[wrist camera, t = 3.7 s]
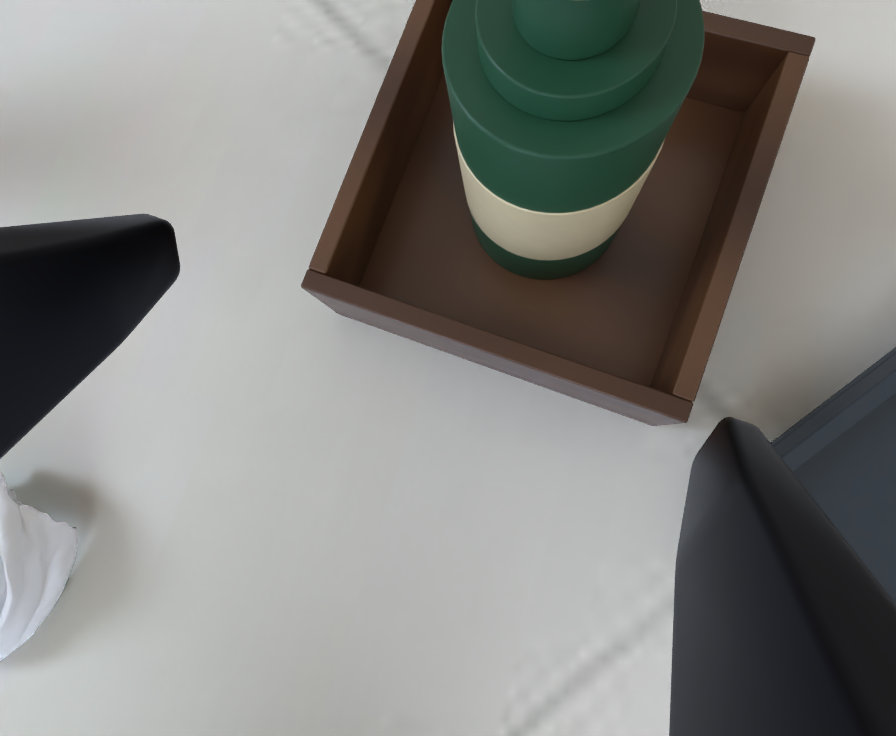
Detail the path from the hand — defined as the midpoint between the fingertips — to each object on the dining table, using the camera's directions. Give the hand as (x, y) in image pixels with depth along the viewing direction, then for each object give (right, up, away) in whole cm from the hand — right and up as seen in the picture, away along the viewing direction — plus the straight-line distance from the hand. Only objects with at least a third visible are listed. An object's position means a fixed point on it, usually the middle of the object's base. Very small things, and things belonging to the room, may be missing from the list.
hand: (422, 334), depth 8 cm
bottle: (+4, +6, +13) cm, 15 cm away
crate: (+4, +6, +14) cm, 16 cm away
